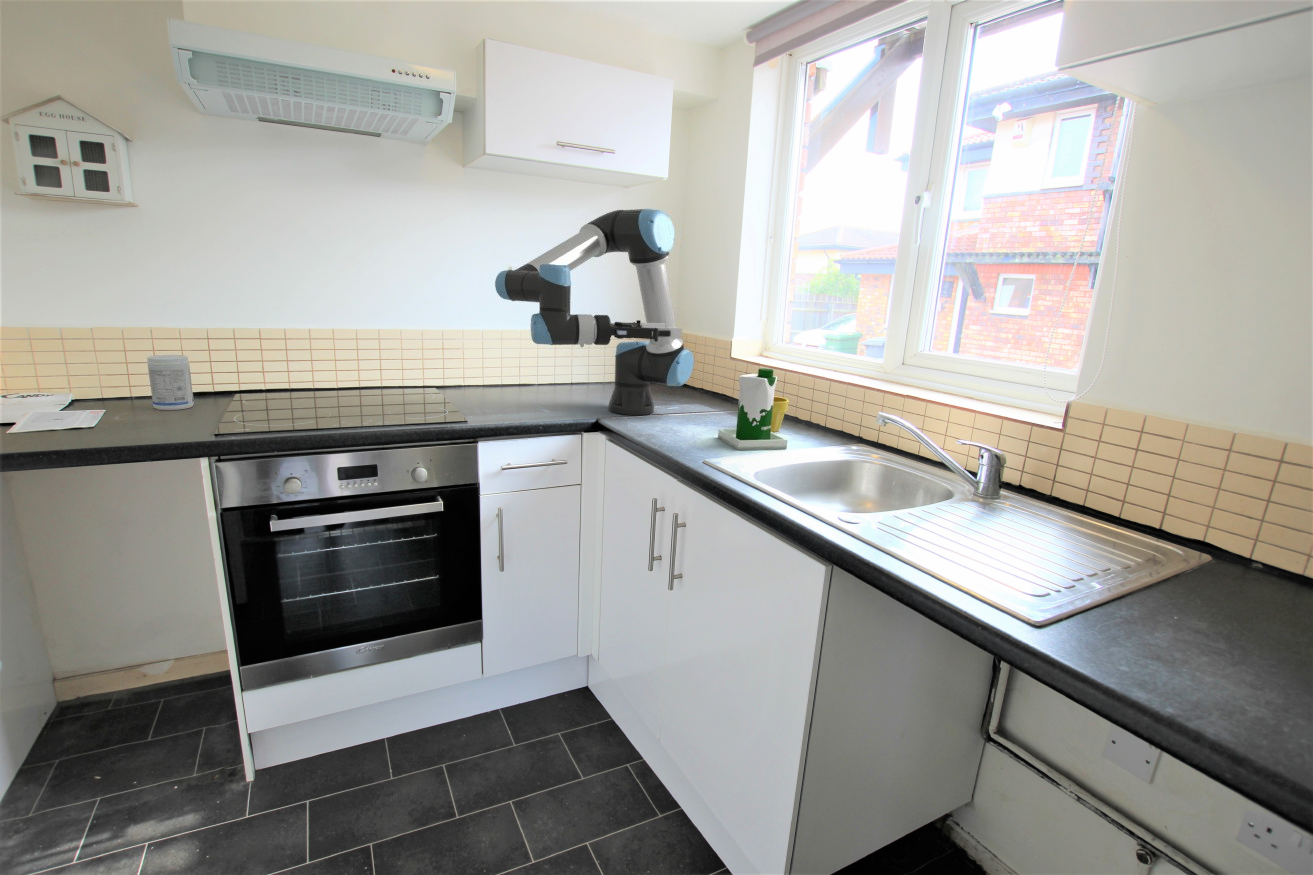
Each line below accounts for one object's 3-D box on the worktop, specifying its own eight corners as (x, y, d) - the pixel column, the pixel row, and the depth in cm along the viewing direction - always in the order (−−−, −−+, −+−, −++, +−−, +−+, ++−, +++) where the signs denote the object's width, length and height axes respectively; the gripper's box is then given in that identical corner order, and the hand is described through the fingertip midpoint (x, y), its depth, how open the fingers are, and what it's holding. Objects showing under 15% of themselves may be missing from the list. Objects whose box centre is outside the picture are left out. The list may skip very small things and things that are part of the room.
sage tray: (718, 437, 185) (718, 429, 185) (763, 436, 189) (764, 428, 189) (738, 450, 172) (739, 441, 172) (786, 448, 176) (787, 439, 176)
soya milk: (759, 446, 174) (766, 371, 170) (730, 440, 180) (736, 367, 175) (774, 440, 181) (781, 369, 177) (745, 435, 186) (751, 365, 182)
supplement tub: (165, 404, 191) (159, 354, 188) (200, 404, 193) (195, 355, 190) (145, 410, 182) (138, 358, 179) (183, 411, 184) (177, 359, 180)
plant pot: (785, 435, 193) (788, 402, 191) (750, 431, 195) (752, 399, 193) (785, 428, 203) (788, 397, 201) (752, 425, 205) (754, 394, 203)
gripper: (583, 339, 177) (657, 340, 184) (604, 350, 154) (688, 351, 161) (583, 311, 175) (658, 313, 182) (605, 318, 152) (690, 320, 159)
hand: (672, 330), depth 171 cm, fingers open, 13 cm apart
